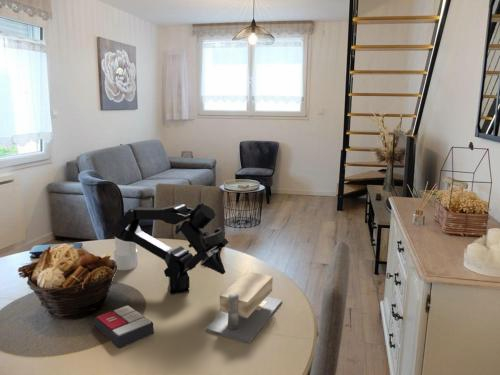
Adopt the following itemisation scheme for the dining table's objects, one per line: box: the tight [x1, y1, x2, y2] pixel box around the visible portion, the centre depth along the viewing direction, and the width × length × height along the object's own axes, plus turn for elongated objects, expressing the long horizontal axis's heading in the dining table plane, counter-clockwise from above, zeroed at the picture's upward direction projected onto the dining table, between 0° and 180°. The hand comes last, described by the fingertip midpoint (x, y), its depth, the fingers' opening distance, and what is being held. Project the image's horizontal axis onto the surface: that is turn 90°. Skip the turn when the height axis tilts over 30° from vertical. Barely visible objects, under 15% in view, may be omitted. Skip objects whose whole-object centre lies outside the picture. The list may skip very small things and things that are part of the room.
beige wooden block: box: [219, 270, 274, 330], centre depth 127 cm, size 9×20×10 cm, turn 155°
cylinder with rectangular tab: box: [113, 236, 139, 271], centre depth 163 cm, size 9×9×12 cm
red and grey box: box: [94, 305, 155, 349], centre depth 120 cm, size 11×4×15 cm
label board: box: [205, 296, 283, 344], centre depth 129 cm, size 14×26×1 cm, turn 155°
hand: (224, 273), depth 135 cm, fingers closed
